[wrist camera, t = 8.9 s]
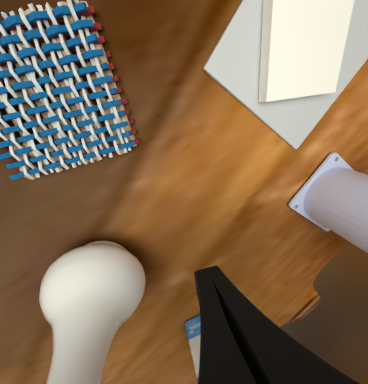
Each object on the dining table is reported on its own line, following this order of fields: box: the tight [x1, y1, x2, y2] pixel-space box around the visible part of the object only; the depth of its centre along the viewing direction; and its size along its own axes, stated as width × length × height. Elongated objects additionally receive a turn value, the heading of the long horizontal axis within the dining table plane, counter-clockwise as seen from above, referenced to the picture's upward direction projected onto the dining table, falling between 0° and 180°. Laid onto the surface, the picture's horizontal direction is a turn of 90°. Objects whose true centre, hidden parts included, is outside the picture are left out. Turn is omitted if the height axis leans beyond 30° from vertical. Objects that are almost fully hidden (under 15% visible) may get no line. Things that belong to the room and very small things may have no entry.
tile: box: [258, 0, 354, 102], centre depth 16 cm, size 1×7×7 cm
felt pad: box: [203, 0, 368, 150], centre depth 16 cm, size 13×13×1 cm
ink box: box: [185, 315, 200, 381], centre depth 26 cm, size 8×5×12 cm, turn 16°
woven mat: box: [0, 0, 139, 180], centre depth 14 cm, size 10×11×2 cm
